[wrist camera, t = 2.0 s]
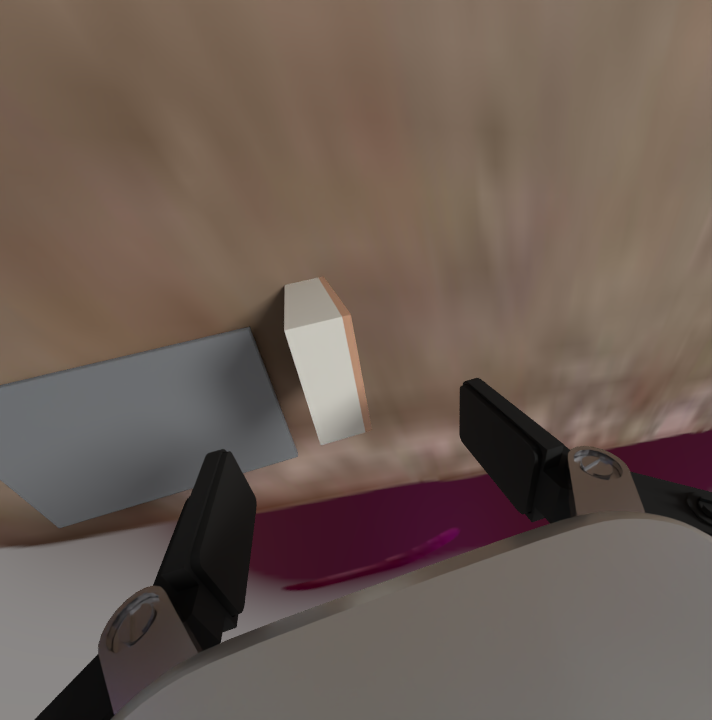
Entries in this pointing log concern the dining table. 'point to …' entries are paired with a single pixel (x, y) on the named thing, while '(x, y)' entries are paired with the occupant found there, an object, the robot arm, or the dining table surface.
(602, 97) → the dining table surface
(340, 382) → the white rectangular block
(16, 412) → the mat
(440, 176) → the dining table surface
